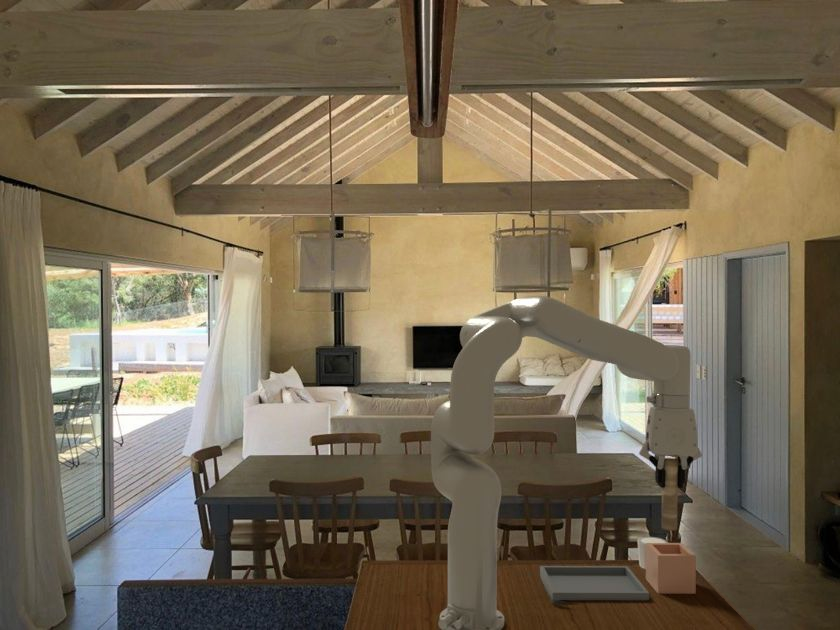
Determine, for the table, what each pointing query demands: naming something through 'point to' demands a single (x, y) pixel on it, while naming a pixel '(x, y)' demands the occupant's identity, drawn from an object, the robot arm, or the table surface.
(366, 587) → the table surface
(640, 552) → the cream short cylinder
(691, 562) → the holder
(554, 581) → the tray
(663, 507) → the dowel
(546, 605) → the table surface
